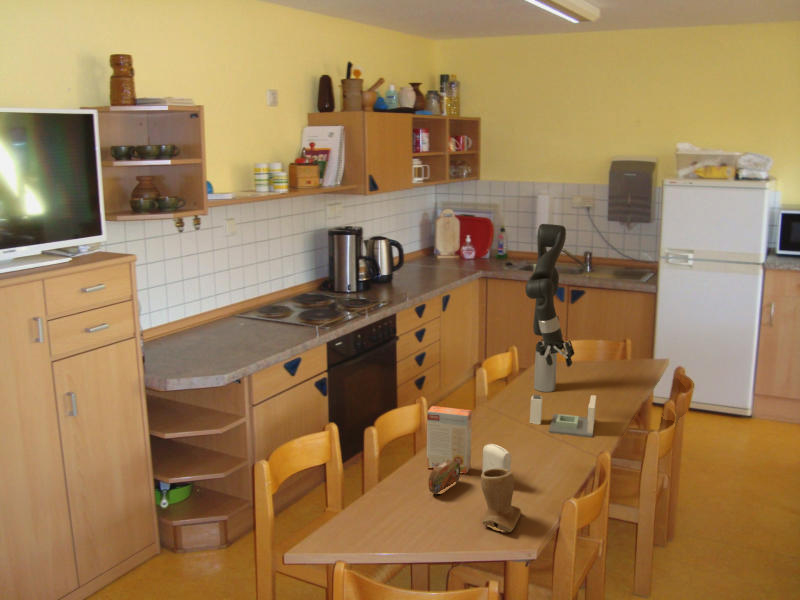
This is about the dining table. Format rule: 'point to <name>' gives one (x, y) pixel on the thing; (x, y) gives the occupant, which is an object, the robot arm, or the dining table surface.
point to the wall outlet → (575, 422)
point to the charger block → (536, 409)
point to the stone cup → (499, 499)
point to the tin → (444, 476)
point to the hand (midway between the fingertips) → (560, 365)
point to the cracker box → (449, 437)
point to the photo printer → (496, 457)
